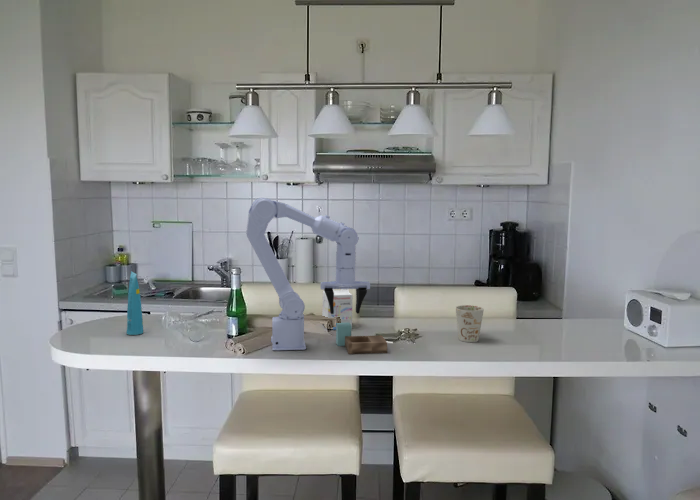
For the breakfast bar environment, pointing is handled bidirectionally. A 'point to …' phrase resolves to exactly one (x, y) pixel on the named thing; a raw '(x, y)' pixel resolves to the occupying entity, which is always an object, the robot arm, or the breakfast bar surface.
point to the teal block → (342, 332)
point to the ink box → (339, 306)
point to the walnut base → (365, 344)
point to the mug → (469, 322)
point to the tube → (134, 307)
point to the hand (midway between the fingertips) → (344, 313)
